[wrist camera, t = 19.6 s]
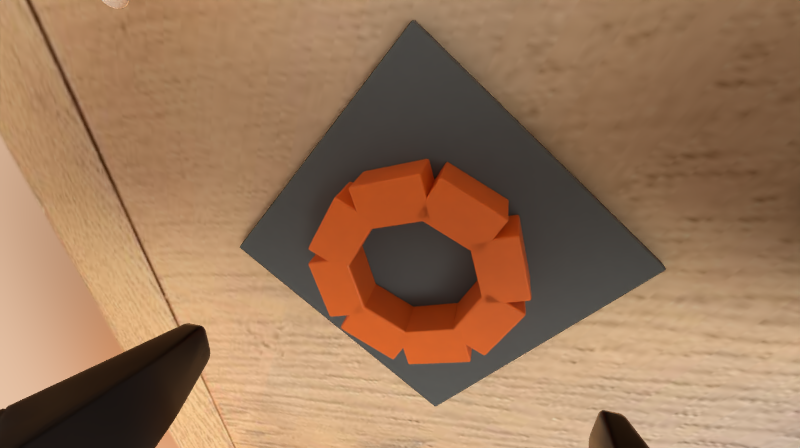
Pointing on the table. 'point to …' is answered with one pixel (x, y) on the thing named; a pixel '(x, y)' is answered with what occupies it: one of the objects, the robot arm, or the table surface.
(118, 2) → the anatomical pelvis
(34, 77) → the table surface
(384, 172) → the orange ring
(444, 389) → the grey mat
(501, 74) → the table surface
